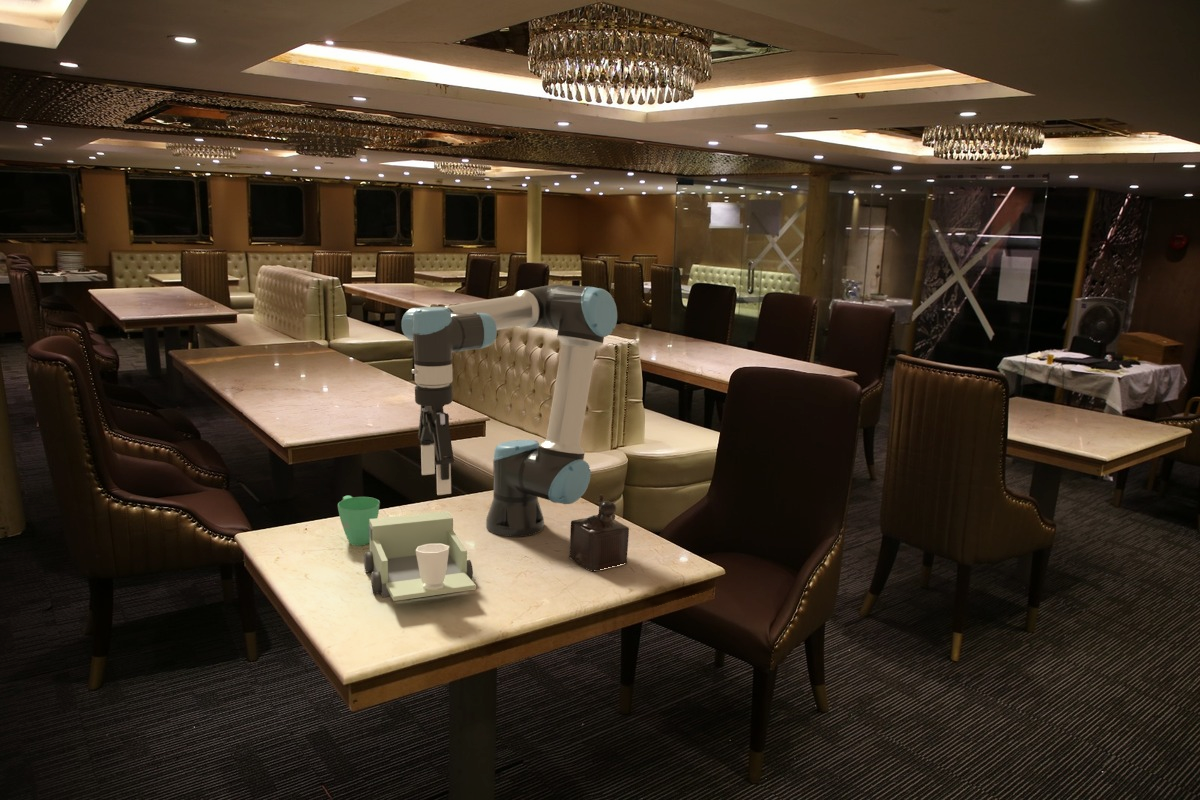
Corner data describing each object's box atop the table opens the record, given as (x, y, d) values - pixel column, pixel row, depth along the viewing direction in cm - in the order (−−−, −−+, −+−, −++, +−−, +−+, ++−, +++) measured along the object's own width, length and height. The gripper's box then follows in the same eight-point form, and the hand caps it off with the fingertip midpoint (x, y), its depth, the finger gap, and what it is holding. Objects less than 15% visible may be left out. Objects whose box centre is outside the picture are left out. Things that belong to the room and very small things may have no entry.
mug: (386, 544, 192) (386, 505, 190) (347, 552, 186) (346, 512, 184) (364, 526, 203) (363, 489, 201) (326, 533, 197) (325, 495, 195)
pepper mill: (565, 557, 188) (568, 486, 185) (603, 549, 195) (606, 479, 191) (602, 581, 176) (605, 505, 172) (641, 572, 182) (645, 498, 179)
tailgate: (464, 572, 169) (475, 585, 161) (464, 578, 169) (475, 590, 161) (386, 582, 163) (393, 596, 154) (386, 588, 163) (393, 602, 155)
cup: (420, 594, 156) (419, 554, 155) (408, 579, 165) (407, 542, 164) (455, 588, 159) (454, 549, 158) (441, 574, 168) (440, 538, 167)
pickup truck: (454, 554, 188) (454, 510, 185) (473, 584, 172) (474, 537, 169) (363, 565, 179) (362, 519, 177) (375, 598, 163) (374, 548, 161)
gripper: (402, 374, 168) (405, 468, 173) (429, 398, 146) (432, 505, 151) (436, 372, 171) (439, 464, 176) (468, 395, 150) (470, 500, 154)
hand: (435, 483), depth 164 cm, fingers open, 13 cm apart
